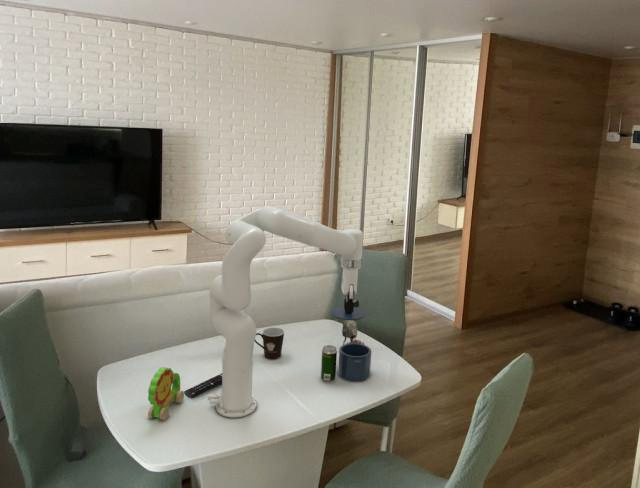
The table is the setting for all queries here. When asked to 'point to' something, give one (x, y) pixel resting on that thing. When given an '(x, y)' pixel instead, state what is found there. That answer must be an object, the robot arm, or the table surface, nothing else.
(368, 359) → the pot
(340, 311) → the lid
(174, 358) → the table surface
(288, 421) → the table surface
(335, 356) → the beer can
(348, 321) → the plant with pod
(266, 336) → the coffee mug
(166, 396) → the toy lion
